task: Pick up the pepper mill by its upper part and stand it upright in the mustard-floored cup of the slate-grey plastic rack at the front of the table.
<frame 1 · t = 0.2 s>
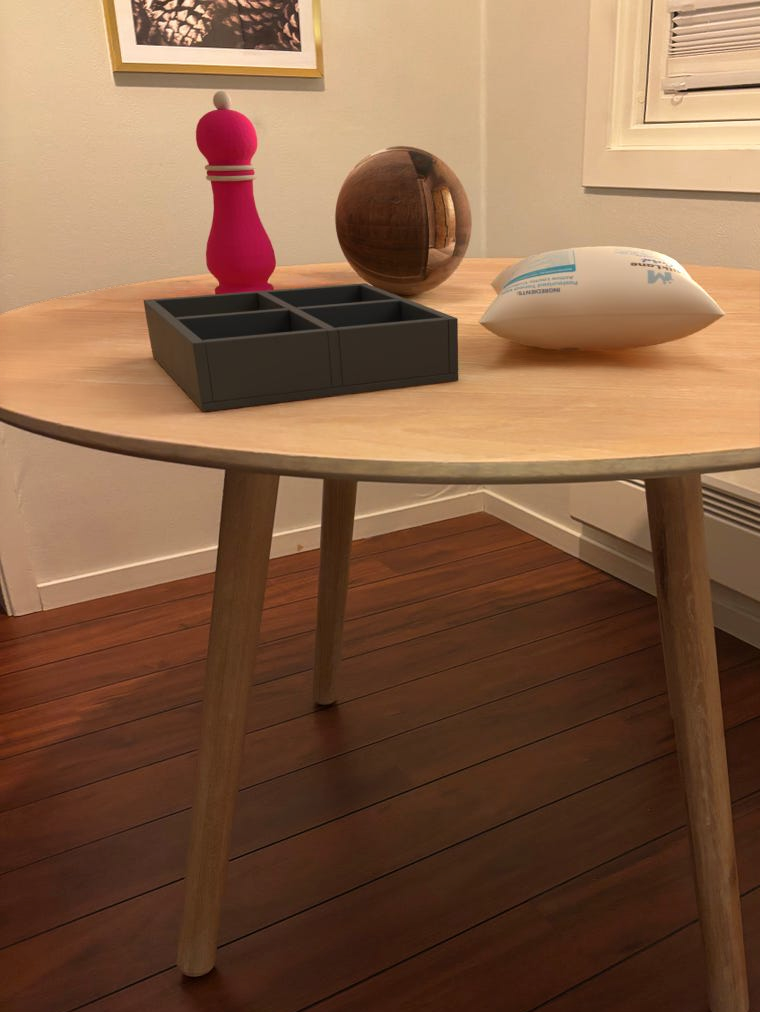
pepper mill: (246, 305, 103), on the table
pouch: (592, 346, 84), on the table
rack: (298, 368, 76), on the table
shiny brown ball: (406, 295, 108), on the table
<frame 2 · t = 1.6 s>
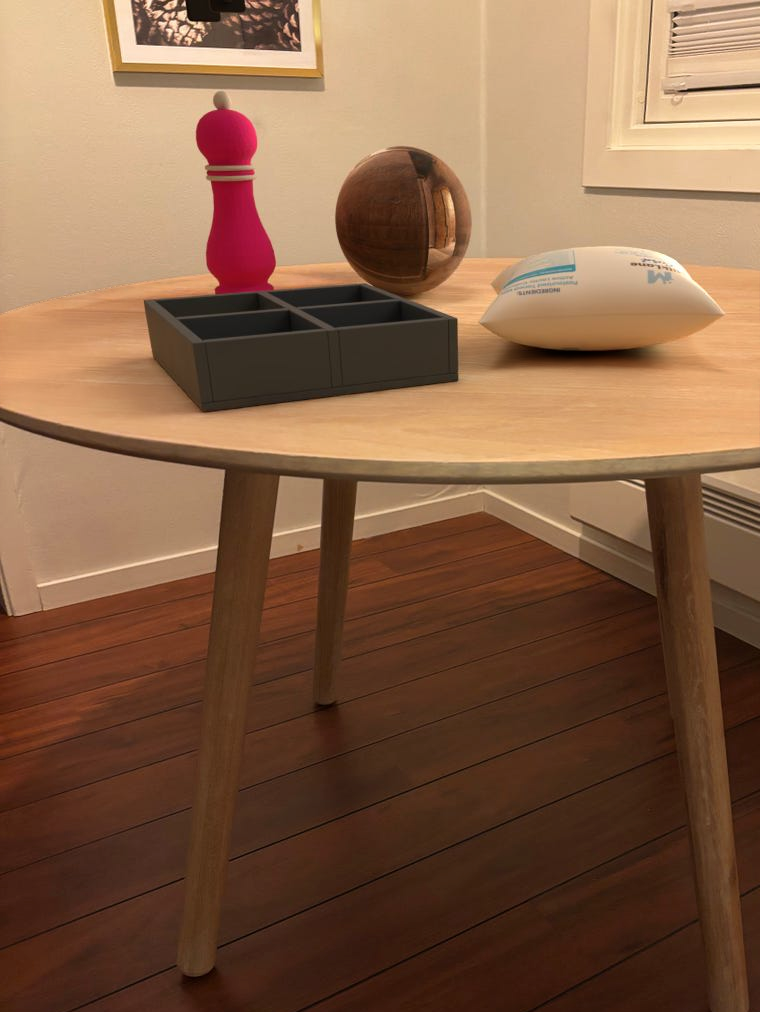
hand: (215, 17, 90), 26 cm above the table, tool pointing down, fingers open, 9 cm apart
nothing on the table moved.
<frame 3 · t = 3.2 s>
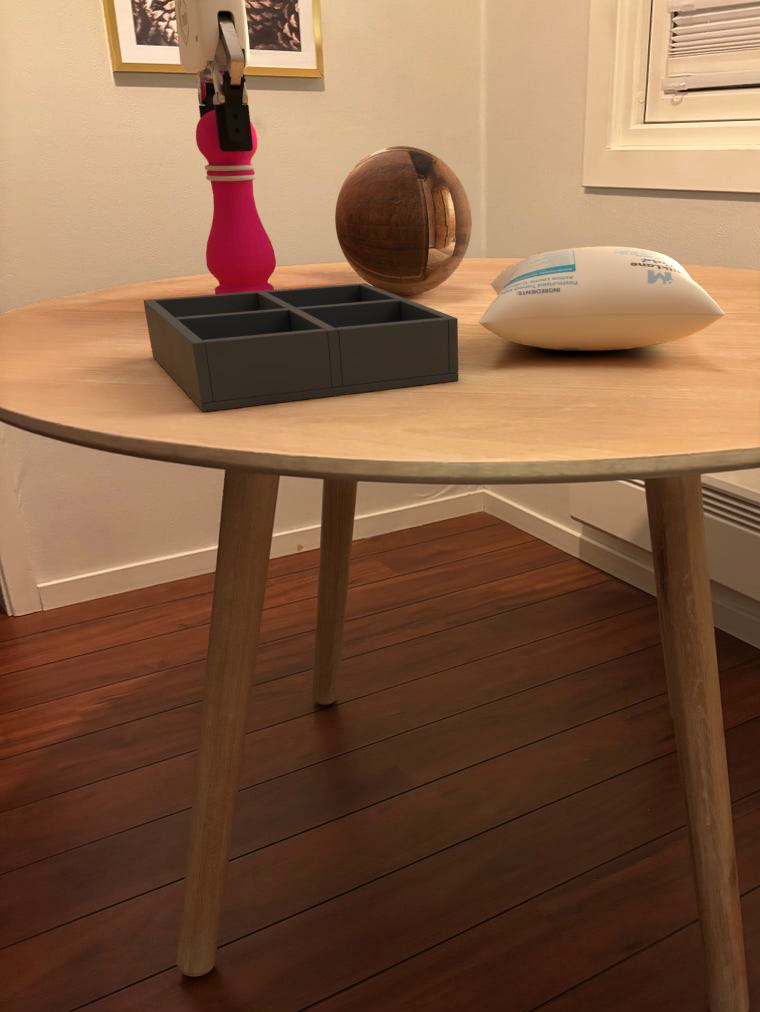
hand: (228, 148, 95), 15 cm above the table, tool pointing down, fingers closed on pepper mill, 6 cm apart
pepper mill: (246, 305, 103), on the table, touching gripper
everything else where it was.
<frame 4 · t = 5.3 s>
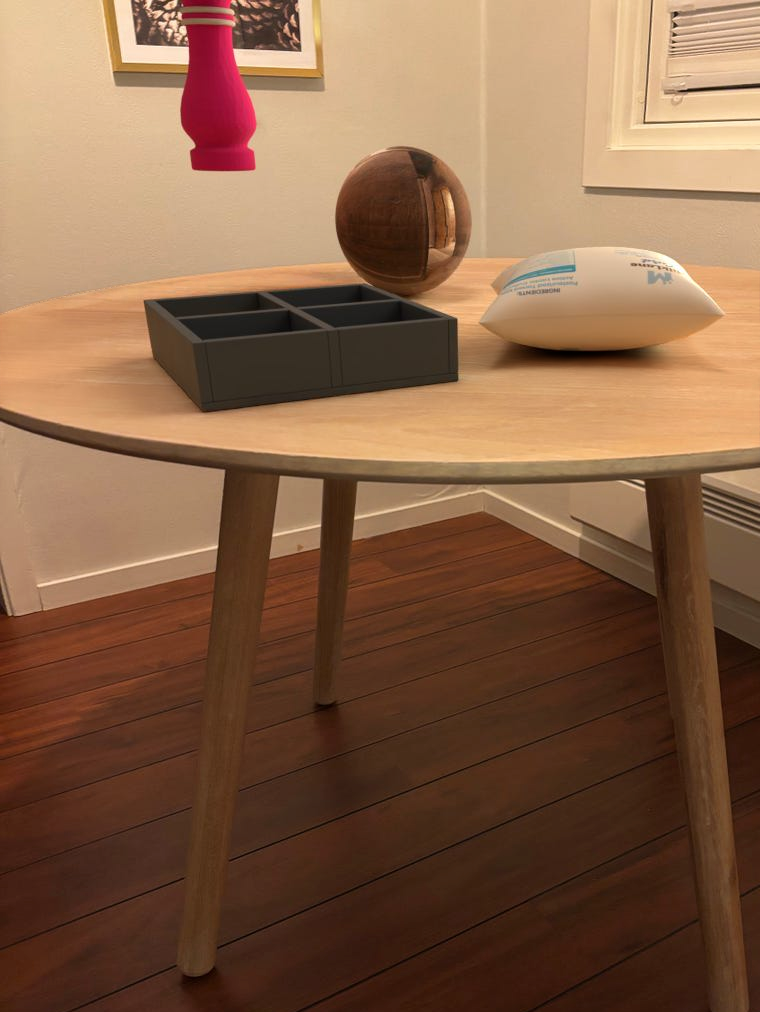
pepper mill: (224, 172, 95), point 13 cm above the table, touching gripper
everything else where it was.
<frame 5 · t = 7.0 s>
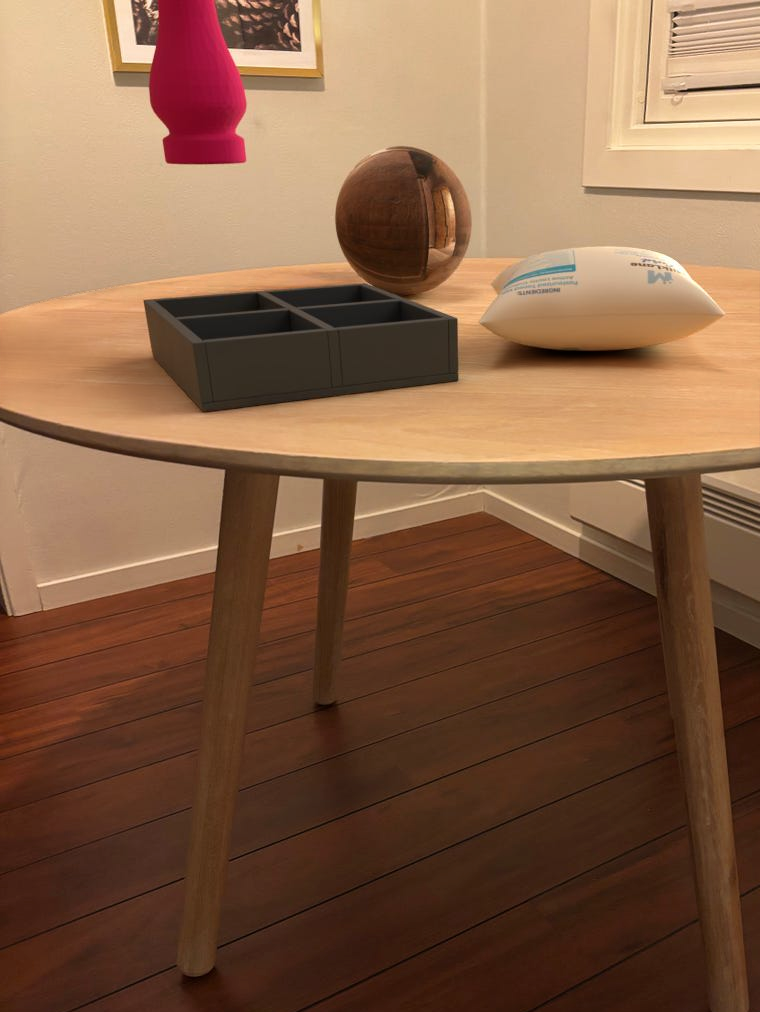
pepper mill: (206, 165, 75), point 14 cm above the table, touching gripper
everything else where it was.
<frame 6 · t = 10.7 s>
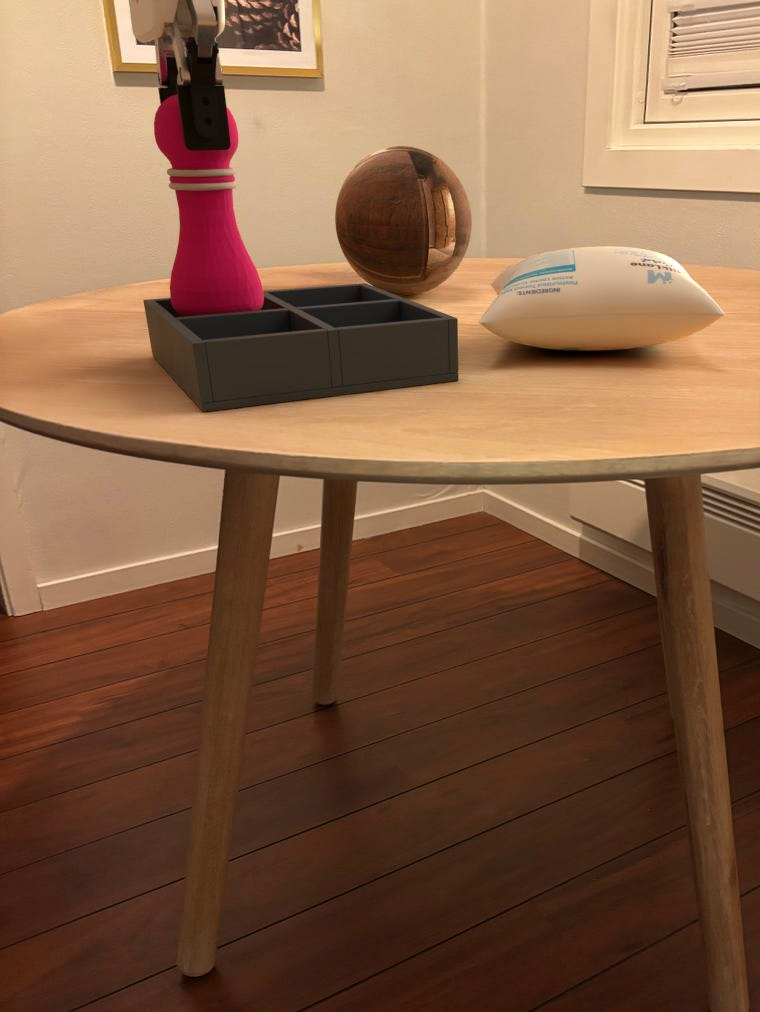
hand: (197, 146, 70), 16 cm above the table, tool pointing down, fingers closed on pepper mill, 6 cm apart
pepper mill: (225, 354, 77), point 1 cm above the table, touching gripper, rack
everything else where it was.
when the fingers open (16 cm above the table, at t = 11.0 s): pepper mill stays where it is, resting on rack.
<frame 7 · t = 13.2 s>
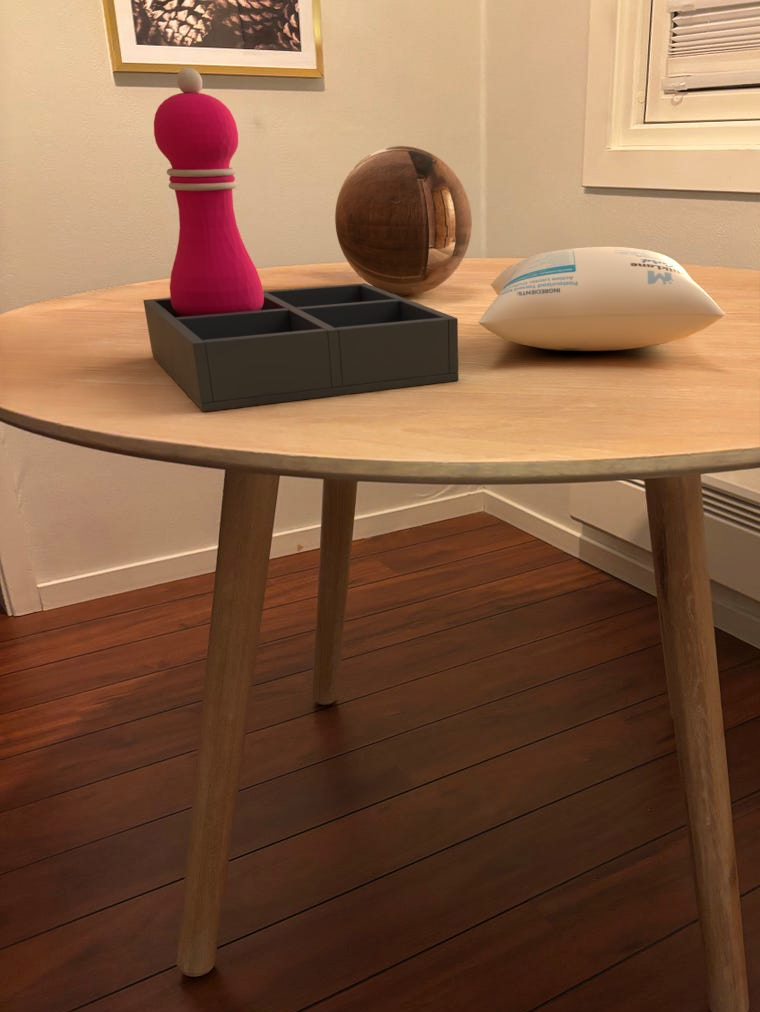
pepper mill: (225, 354, 77), point 1 cm above the table, touching rack
everything else where it was.
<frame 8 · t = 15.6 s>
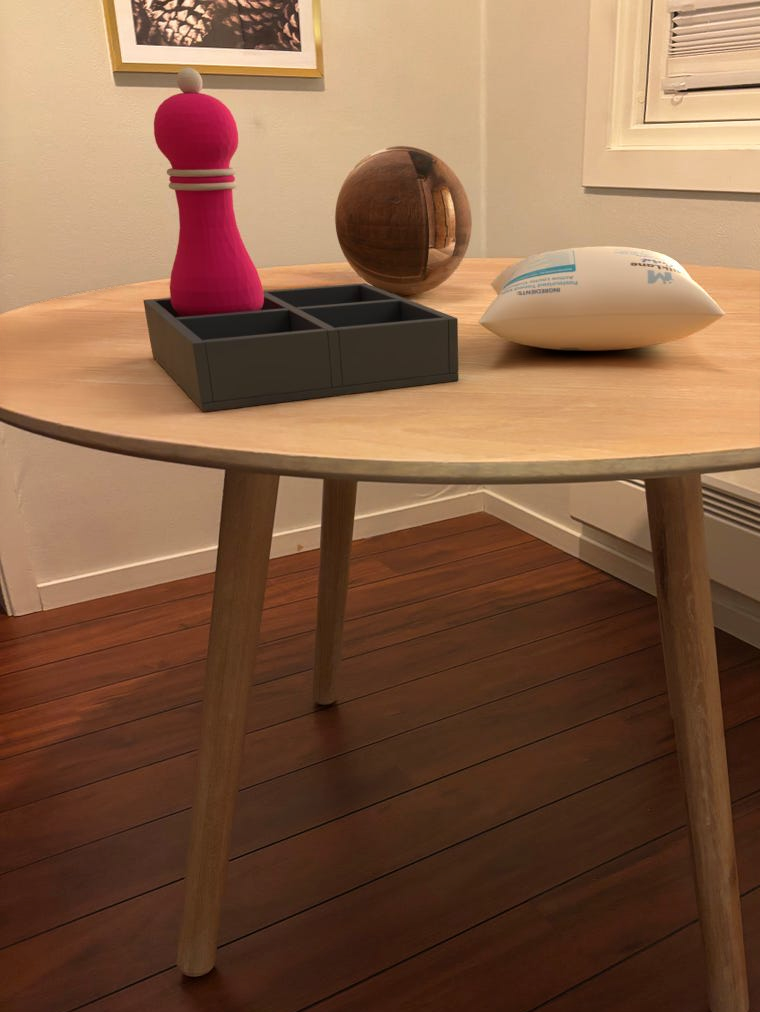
nothing on the table moved.
at the end: pepper mill 0.1 cm from the target spot in the rack, point 0.6 cm above the rack's base; pepper mill tilted 0°; the gripper is holding nothing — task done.
